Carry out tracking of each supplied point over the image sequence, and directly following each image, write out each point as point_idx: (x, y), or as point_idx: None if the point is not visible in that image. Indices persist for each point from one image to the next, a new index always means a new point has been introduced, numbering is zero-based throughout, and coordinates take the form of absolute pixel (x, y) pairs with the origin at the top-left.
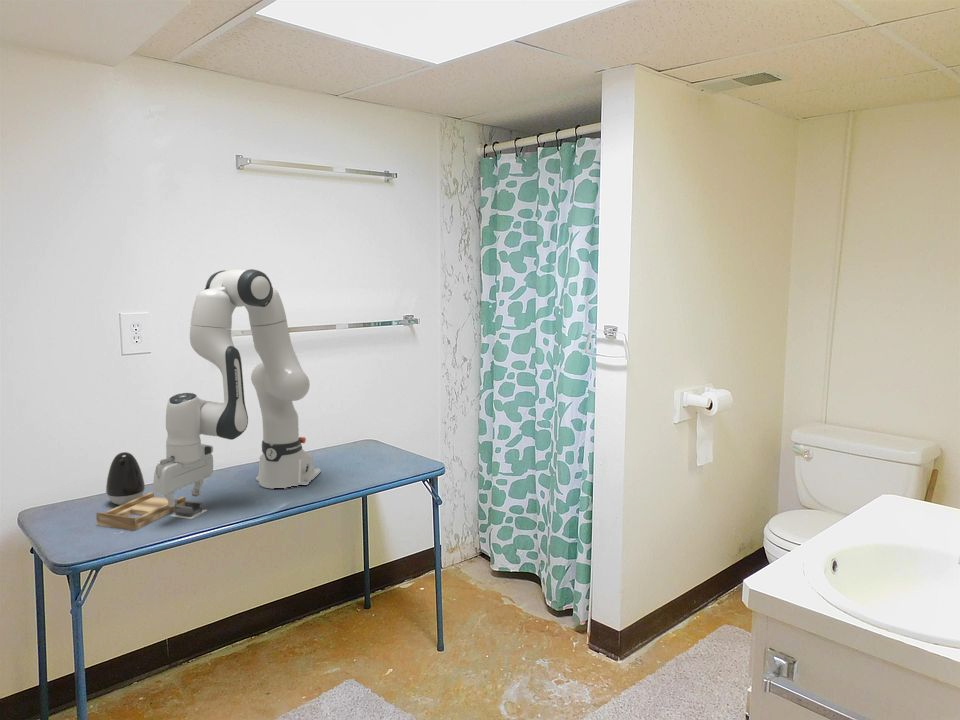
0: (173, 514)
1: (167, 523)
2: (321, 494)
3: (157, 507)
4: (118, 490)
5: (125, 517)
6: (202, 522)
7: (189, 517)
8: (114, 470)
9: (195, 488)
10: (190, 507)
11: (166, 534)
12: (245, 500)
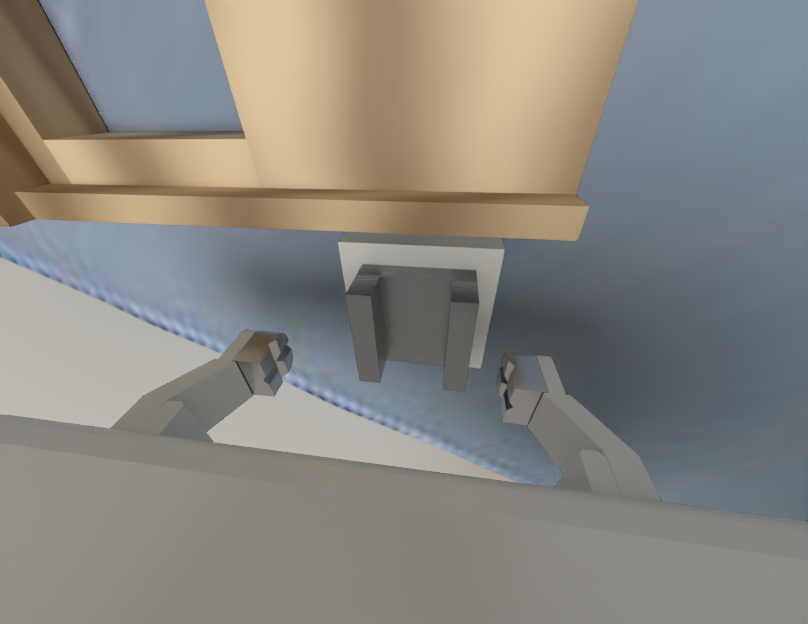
0: (364, 249)
1: (306, 249)
2: None
3: (341, 91)
4: None
5: None
6: (387, 371)
7: None
8: None
9: (544, 410)
10: (372, 376)
11: (228, 318)
12: (702, 413)
